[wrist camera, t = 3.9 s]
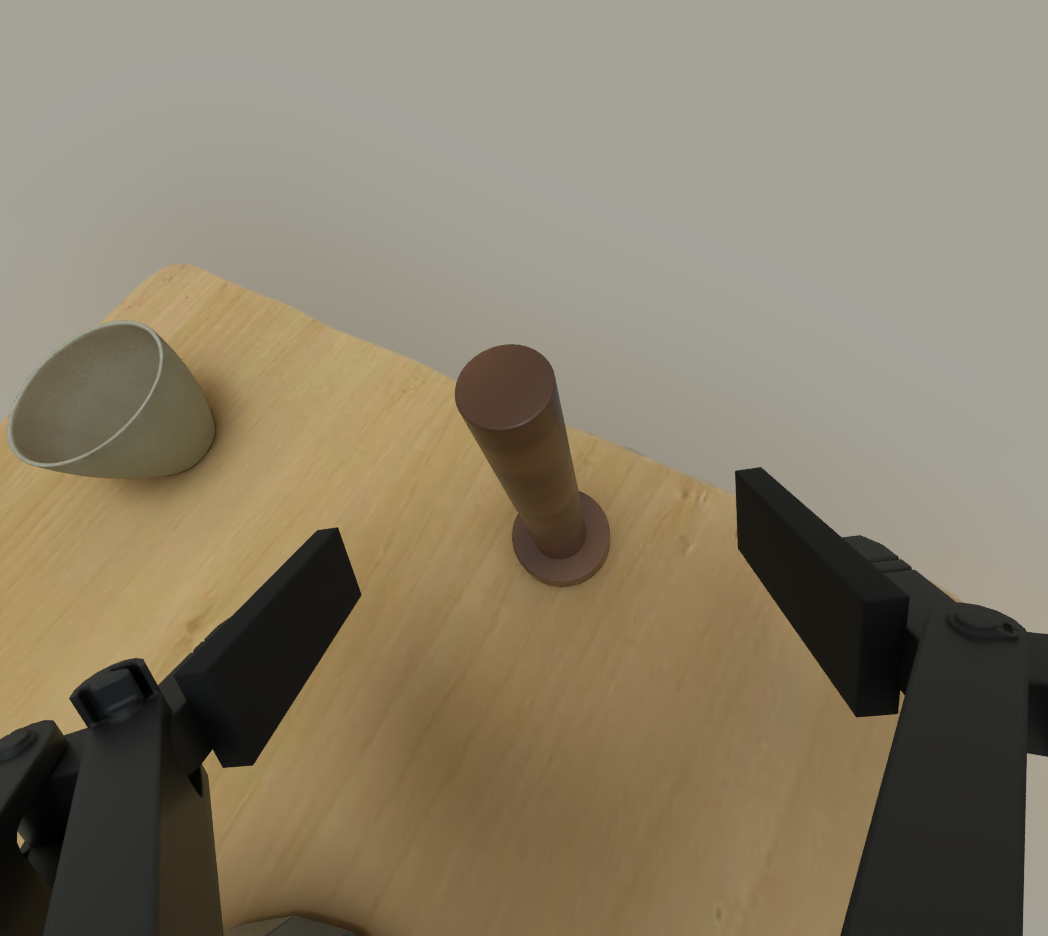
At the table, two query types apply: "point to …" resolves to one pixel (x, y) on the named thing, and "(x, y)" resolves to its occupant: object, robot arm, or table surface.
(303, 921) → the bowl
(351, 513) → the table surface
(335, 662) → the table surface
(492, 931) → the table surface
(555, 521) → the wooden peg stand
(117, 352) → the flower pot
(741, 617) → the table surface
